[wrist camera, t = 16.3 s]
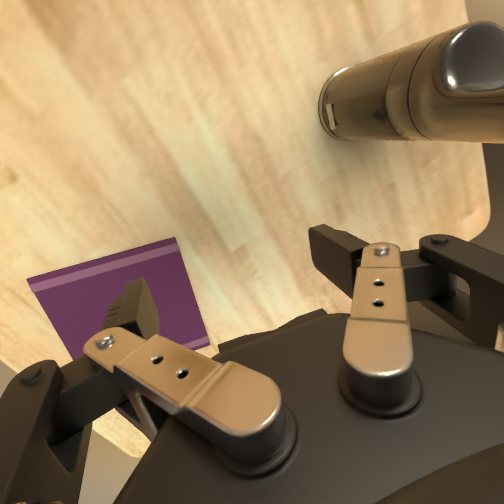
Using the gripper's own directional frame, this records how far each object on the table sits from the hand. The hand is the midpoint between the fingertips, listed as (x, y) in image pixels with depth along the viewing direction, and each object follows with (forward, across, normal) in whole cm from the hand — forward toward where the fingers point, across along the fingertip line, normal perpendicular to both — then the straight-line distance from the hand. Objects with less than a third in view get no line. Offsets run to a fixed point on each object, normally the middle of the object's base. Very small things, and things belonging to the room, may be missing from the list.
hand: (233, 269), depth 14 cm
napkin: (+30, +14, +17) cm, 37 cm away
